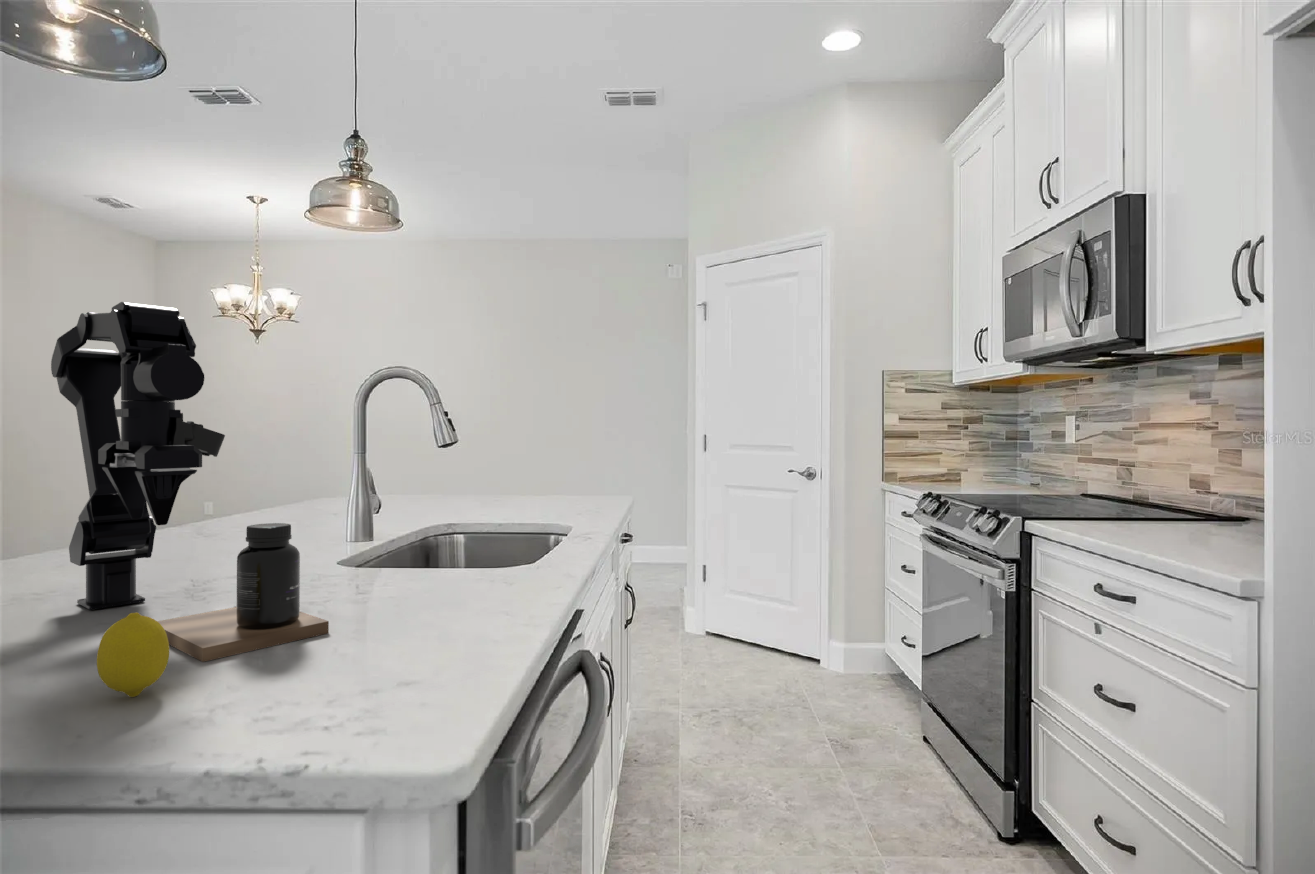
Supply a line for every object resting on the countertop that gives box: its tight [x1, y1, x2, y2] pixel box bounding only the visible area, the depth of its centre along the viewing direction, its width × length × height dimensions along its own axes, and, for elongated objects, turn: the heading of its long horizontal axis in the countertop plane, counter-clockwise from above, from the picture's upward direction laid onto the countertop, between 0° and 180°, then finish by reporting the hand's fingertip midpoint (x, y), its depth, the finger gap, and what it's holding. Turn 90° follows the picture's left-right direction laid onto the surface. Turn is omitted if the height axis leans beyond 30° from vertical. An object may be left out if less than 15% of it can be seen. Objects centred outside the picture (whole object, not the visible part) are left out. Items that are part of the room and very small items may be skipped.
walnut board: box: [156, 606, 330, 663], centre depth 88 cm, size 16×14×2 cm
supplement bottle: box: [236, 522, 301, 629], centre depth 88 cm, size 7×7×12 cm
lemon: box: [96, 611, 170, 698], centre depth 68 cm, size 6×6×8 cm
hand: (148, 521), depth 93 cm, fingers open, 9 cm apart
